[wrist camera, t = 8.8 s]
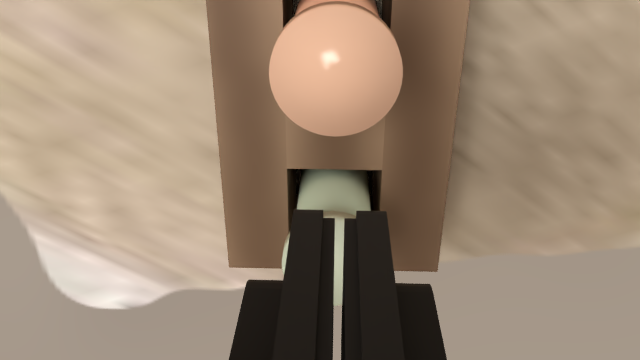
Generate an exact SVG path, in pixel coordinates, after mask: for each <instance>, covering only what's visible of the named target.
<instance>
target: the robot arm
mask: <svg viewBox="0 0 640 360" xmlns="http://www.w3.org/2000/svg"><path fill="white" fill-rule="evenodd" d="M334 245H335V218H324V213H323V210H303V209H294V210H293V216H292V223H291V230H290V237H289V244H288V251H287V258H286V265H285V272H284V279H283V281H278V280H248V281H247V284H246V287H245V291H244V296H243V300H242V304H241V309H240V313H239V317H238V322H237V326H236V331H235V335H234V339H233V344H232V348H231V353H230V357H229V360H332V359H333V305H334ZM341 336H342V337H341V360H447V359H446V354H445V349H444V344H443V339H442V334H441V330H440V325H439V320H438V315H437V310H436V305H435V300H434V295H433V291H432V288H431V285H430V284H405V283H404V284H403V283H395V276H394V268H393V259H392V251H391V243H390V235H389V227H388V218H387V212H386V211H356V218H345V219H344V256H343V294H342V334H341Z"/></svg>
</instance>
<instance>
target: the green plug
mask: <svg viewBox="0 0 640 360" xmlns="http://www.w3.org/2000/svg"><path fill="white" fill-rule="evenodd" d="M297 209H303V210H323V213H324V218H335V245H334V305H333V306H338V305H342V294H343V256H344V219H345V218H356V211H371V208H370V196H369V185H368V173H367V170H339V169H302V171H301V179H300V187H299V195H298V204H297ZM289 237H290V232H289V234H288V236H287V238H286V240H285V244H284V249H283V256H282V271H283V274H284V272H285V265H286V258H287V251H288V244H289Z"/></svg>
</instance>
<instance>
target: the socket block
mask: <svg viewBox="0 0 640 360" xmlns="http://www.w3.org/2000/svg"><path fill="white" fill-rule="evenodd" d="M469 5H470V0H383V2H382V20H383V21H384V22H385V23H386V25H387V26H388V27H389V29H390V30H391V32H392V33H393V35H394V37H395V40H396V42H397V45H398V48H399V51H400V55H401V58H402V65H403V79H402V85H401V89H400V92H399V95H398V97H397V99H396V101H395V103H394V105H393V106H392V108H391V109H390V110H389V112H388V113H387V114H386V115H385V116H384V117H383V118H382V119H381V120H380V121H379V122H377V123H376V124H375V125H373V126H371V127H370V128H368V129H366V130H364V131H361V132H359V133H356V134H352V135H347V136H336V137H334V136H324V135H319V134H316V133H313V132H310V131H308V130H306V129H303V128H302V127H300V126H299V125H297V124H295V123H294V122H293V121H292V120H291V119H289V118H288V117H287V116H286V114H285V113H284V112H283V111H282V110H281V108H280V107H279V105H278V103H277V102H276V100H275V98H274V95H273V93H272V90H271V86H270V80H269V64H270V58H271V55H272V52H273V48H274V46H275V43H276V40H277V38H278V36H279V34H280V32H281V31H282V29H283V28H284V26H285V25H286V24H287V23H288V22H289V21H290V20H291V19H292V18H293V17H292V0H206V6H207V18H208V29H209V41H210V52H211V64H212V75H213V87H214V99H215V110H216V122H217V133H218V145H219V156H220V168H221V179H222V191H223V203H224V214H225V226H226V237H227V249H228V260H229V267H236V268H282V256H283V249H284V244H285V240H286V238H287V236H288V234H289V232H290V230H291V223H292V216H293V210H294V209H297V204H298V195H299V194H296V176H295V169H339V170H374V175H373V194H372V196H370V208H371V211H386V212H387V218H388V227H389V235H390V243H391V251H392V259H393V268H394V271H429V272H430V271H431V272H433V271H434V272H437V270H438V262H439V253H440V245H441V237H442V229H443V220H444V212H445V204H446V195H447V187H448V179H449V171H450V162H451V154H452V146H453V137H454V129H455V121H456V112H457V104H458V96H459V88H460V79H461V71H462V63H463V54H464V46H465V38H466V30H467V21H468V13H469Z"/></svg>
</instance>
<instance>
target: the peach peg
mask: <svg viewBox="0 0 640 360" xmlns="http://www.w3.org/2000/svg"><path fill="white" fill-rule="evenodd" d="M402 79H403V65H402V58H401V55H400V51H399V48H398V45H397V42H396V40H395V37H394V35H393V33H392V32H391V30H390V29H389V27H388V26H387V25H386V23H385V22H384V21H383V20H382V19H381V18H380V17H379V13H378V9H377V5H376V1H375V0H299V2H298V6H297V9H296V12H295V16H294V17H293V18H292V19H291V20H290V21H289V22H288V23H287V24H286V25H285V26H284V28H283V29H282V31H281V32H280V34H279V36H278V38H277V40H276V43H275V46H274V48H273V52H272V55H271V58H270V64H269V80H270V86H271V90H272V93H273V95H274V98H275V100H276V102H277V103H278V105H279V107H280V108H281V110H282V111H283V112H284V113H285V114H286V116H287V117H288V118H289V119H291V120H292V121H293V122H294V123H295V124H297V125H299V126H300V127H302V128H303V129H306V130H308V131H310V132H313V133H316V134H319V135H324V136H334V137H336V136H347V135H352V134H356V133H359V132H361V131H364V130H366V129H368V128H370V127H371V126H373V125H375V124H376V123H377V122H379V121H380V120H381V119H382V118H383V117H384V116H385V115H386V114H387V113H388V112H389V110H390V109H391V108H392V106H393V105H394V103H395V101H396V99H397V97H398V95H399V92H400V89H401V85H402Z"/></svg>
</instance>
